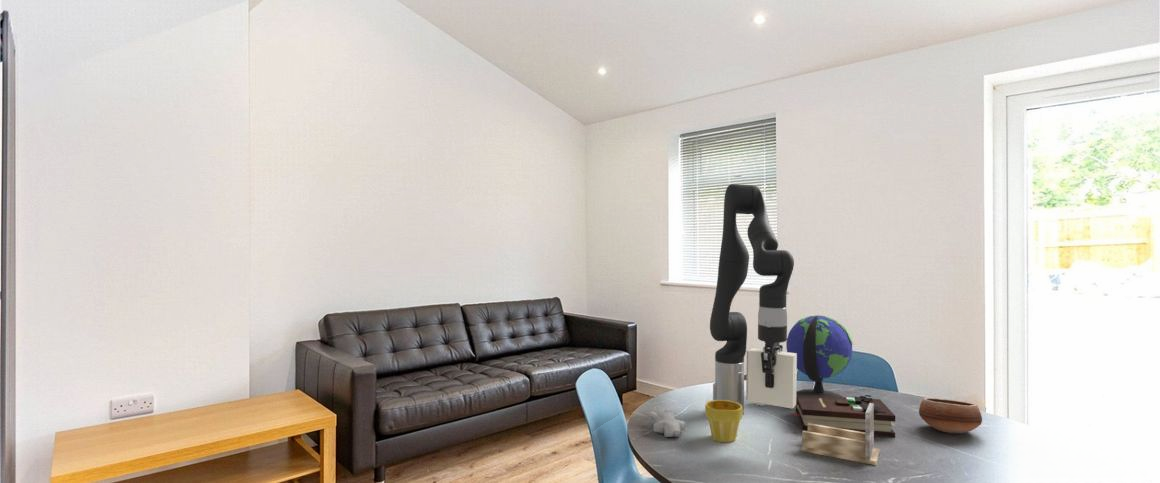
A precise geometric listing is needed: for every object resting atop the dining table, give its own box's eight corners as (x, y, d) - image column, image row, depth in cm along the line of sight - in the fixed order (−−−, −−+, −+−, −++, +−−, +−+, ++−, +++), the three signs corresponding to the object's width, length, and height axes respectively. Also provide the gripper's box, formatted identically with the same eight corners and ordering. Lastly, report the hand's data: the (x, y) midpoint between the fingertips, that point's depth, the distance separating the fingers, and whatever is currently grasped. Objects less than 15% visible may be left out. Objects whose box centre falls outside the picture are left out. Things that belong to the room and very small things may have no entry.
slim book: (746, 400, 156) (746, 350, 156) (750, 397, 159) (750, 347, 159) (792, 408, 149) (793, 356, 149) (796, 404, 153) (796, 353, 152)
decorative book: (787, 390, 187) (887, 396, 180) (787, 412, 187) (887, 419, 180) (794, 407, 169) (905, 414, 161) (794, 432, 169) (905, 441, 161)
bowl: (975, 427, 171) (975, 394, 171) (987, 445, 157) (987, 409, 157) (915, 420, 178) (916, 389, 178) (922, 436, 164) (922, 402, 163)
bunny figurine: (658, 427, 161) (644, 405, 176) (658, 443, 162) (644, 421, 176) (690, 425, 163) (674, 403, 177) (689, 442, 163) (673, 419, 178)
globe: (865, 408, 191) (865, 319, 190) (799, 408, 191) (799, 319, 191) (836, 390, 213) (836, 311, 213) (777, 390, 213) (777, 311, 213)
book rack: (801, 450, 153) (801, 403, 153) (809, 439, 161) (809, 394, 161) (876, 465, 143) (876, 414, 143) (879, 452, 152) (880, 404, 152)
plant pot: (722, 447, 156) (722, 412, 156) (697, 435, 165) (697, 402, 165) (750, 441, 160) (750, 407, 160) (725, 430, 170) (725, 397, 169)
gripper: (765, 318, 162) (764, 377, 162) (751, 325, 150) (750, 389, 150) (792, 320, 158) (791, 381, 158) (780, 328, 146) (779, 394, 146)
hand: (771, 385), depth 154 cm, fingers closed on slim book, 4 cm apart
